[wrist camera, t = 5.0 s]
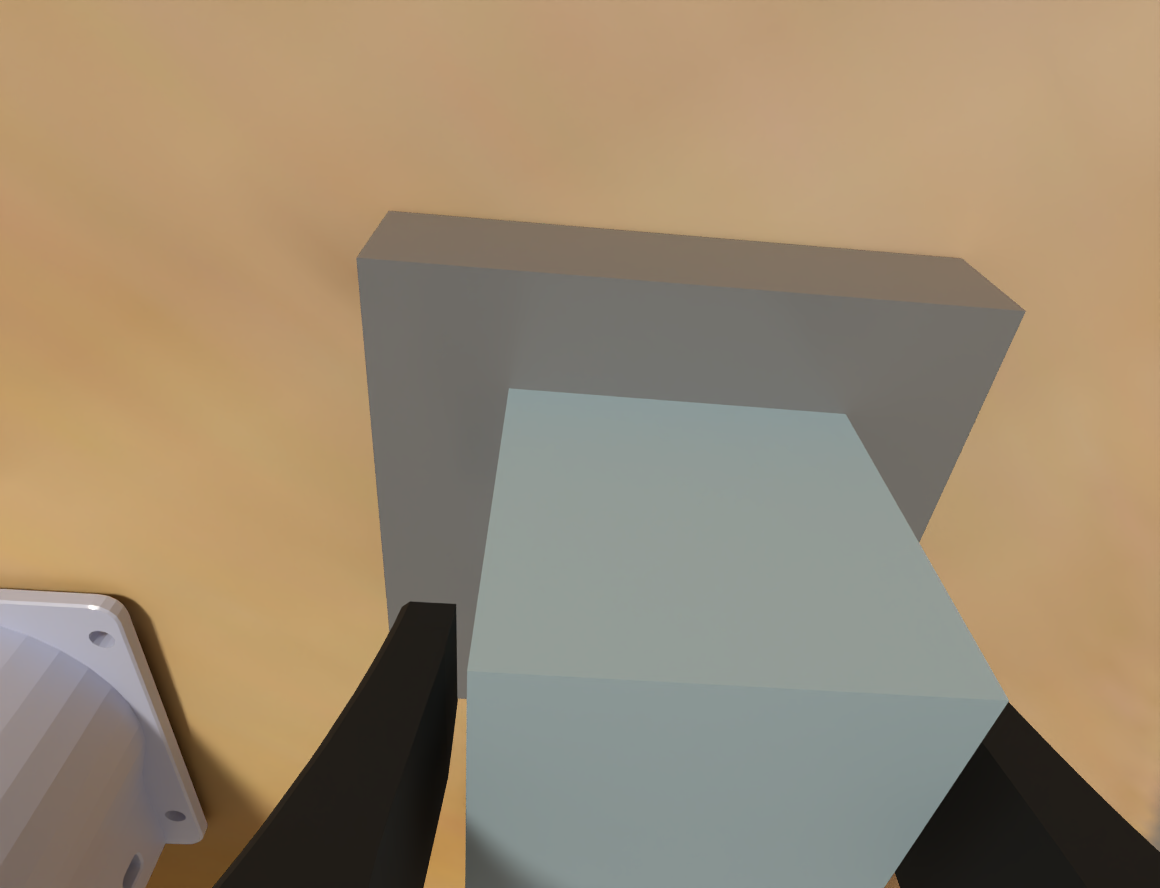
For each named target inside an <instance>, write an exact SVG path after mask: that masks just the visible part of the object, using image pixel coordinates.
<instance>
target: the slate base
mask: <svg viewBox="0 0 1160 888" xmlns="http://www.w3.org/2000/svg"><path fill="white" fill-rule="evenodd" d="M357 269H358V281H359V292H360V303H361V315H362V326H363V337H364V349H365V360H366V371H367V383H368V394H369V405H370V416H371V428H372V439H373V450H374V462H375V473H376V484H377V496H378V507H379V518H380V530H381V541H382V552H383V563H384V575H385V586H386V597H387V609H388V620H389V631H390V630H391V628H392V626H393V624H394V622H395V620H396V618H397V616H398V614H399V612H400V609H401V607H402V606H404V605H405V604H407V603H408V602H410V601H412V602H430V603H448V604H456V620H457V697H458V698H461V699H467V668H468V662H469V655H470V648H471V641H472V635H473V628H474V621H475V614H476V607H477V601H478V594H479V587H480V580H481V574H482V567H483V560H484V553H485V547H486V540H487V533H488V526H489V520H490V513H491V506H492V499H493V492H494V486H495V479H496V472H497V465H498V459H499V452H500V445H501V438H502V432H503V425H504V418H505V411H506V405H507V398H508V391H509V388H511V389H524V390H537V391H550V392H563V393H576V394H589V395H603V396H616V397H629V398H642V399H655V400H668V401H681V402H694V403H707V404H720V405H733V406H747V407H760V408H773V409H786V410H799V411H812V412H825V413H838V414H846V415H847V417H848V419H849V421H850V422H851V424H852V426H853V428H854V429H855V431H856V433H857V435H858V437H859V438H860V440H861V442H862V444H863V445H864V447H865V449H866V451H867V452H868V454H869V456H870V458H871V459H872V461H873V463H874V465H875V466H876V468H877V470H878V472H879V473H880V475H881V477H882V479H883V480H884V482H885V484H886V486H887V487H888V489H889V491H890V493H891V494H892V496H893V498H894V500H895V501H896V503H897V505H898V507H899V509H900V510H901V512H902V514H903V516H904V517H905V519H906V521H907V523H908V524H909V526H910V528H911V530H912V531H913V533H914V535H915V537H916V538H917V540H918V542H920V540H921V537H922V535H923V533H924V531H925V529H926V526H927V524H928V522H929V520H930V518H931V516H932V513H933V511H934V509H935V507H936V505H937V503H938V500H939V498H940V496H941V494H942V492H943V490H944V487H945V485H946V483H947V481H948V479H949V477H950V474H951V472H952V470H953V468H954V466H955V463H956V461H957V459H958V457H959V455H960V453H961V450H962V448H963V446H964V444H965V442H966V440H967V437H968V435H969V433H970V431H971V429H972V427H973V424H974V422H975V420H976V418H977V416H978V414H979V411H980V409H981V407H982V405H983V403H984V401H985V398H986V396H987V394H988V392H989V390H990V387H991V385H992V383H993V381H994V379H995V377H996V374H997V372H998V370H999V368H1000V366H1001V364H1002V361H1003V359H1004V357H1005V355H1006V353H1007V351H1008V348H1009V346H1010V344H1011V342H1012V340H1013V338H1014V335H1015V333H1016V331H1017V329H1018V327H1019V324H1020V322H1021V320H1022V318H1023V316H1024V314H1025V310H1024V309H1023V308H1021V307H1020V306H1019V305H1018V304H1016V303H1015V302H1014V301H1013V300H1012V299H1010V298H1009V297H1008V296H1007V295H1006V294H1004V293H1003V292H1002V291H1001V290H1000V289H998V288H997V287H996V286H995V285H993V284H992V283H991V282H990V281H989V280H987V279H986V278H985V277H984V276H983V275H981V274H980V273H979V272H978V271H977V270H975V269H974V268H973V267H972V266H970V265H969V264H968V263H967V262H966V261H964V260H963V259H961V258H949V257H937V256H925V255H913V254H901V253H889V252H877V251H865V250H853V249H841V248H829V247H817V246H805V245H793V244H781V243H769V242H757V241H745V240H733V239H721V238H709V237H697V236H685V235H673V234H660V233H648V232H636V231H624V230H612V229H600V228H588V227H576V226H564V225H552V224H540V223H528V222H516V221H504V220H492V219H480V218H468V217H456V216H444V215H432V214H420V213H408V212H396V211H388V213H387V214H386V216H385V217H384V218H383V220H382V221H381V223H380V224H379V226H378V227H377V229H376V230H375V232H374V233H373V234H372V236H371V237H370V239H369V240H368V242H367V243H366V245H365V246H364V248H363V249H362V250H361V252H360V253H359V255H358V256H357Z"/></svg>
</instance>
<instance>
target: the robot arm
mask: <svg viewBox="0 0 1160 888" xmlns="http://www.w3.org/2000/svg"><path fill="white" fill-rule="evenodd" d="M457 702H458V697H457V620H456V604H448V603H430V602H412V601H410V602H408V603H407V604H405V605H404V606H402V607H401V609H400V612H399V614H398V616H397V618H396V620H395V622H394V624H393V626H392V628H391V630H390V632H389V634H388V636H387V638H386V639H385V641H384V643H383V645H382V647H381V649H380V650H379V652H378V654H377V656H376V657H375V659H374V661H373V663H372V664H371V666H370V668H369V669H368V671H367V673H366V674H365V676H364V678H363V679H362V681H361V683H360V684H359V686H358V688H357V689H356V691H355V693H354V694H353V696H352V697H351V699H350V700H349V702H348V703H347V705H346V707H345V708H344V710H343V711H342V713H341V714H340V716H339V717H338V719H337V720H336V722H335V723H334V725H333V726H332V728H331V729H330V731H329V733H328V734H327V736H326V737H325V739H324V740H323V742H322V743H321V745H320V746H319V748H318V749H317V751H316V752H315V753H314V755H313V756H312V758H311V759H310V761H309V762H308V763H307V765H306V766H305V768H304V769H303V770H302V772H301V773H300V774H299V776H298V777H297V779H296V780H295V781H294V783H293V784H292V785H291V787H290V788H289V789H288V791H287V792H286V794H285V795H284V796H283V798H282V799H281V800H280V802H279V803H278V805H277V806H276V807H275V809H274V810H273V811H272V813H271V814H270V816H269V817H268V818H267V820H266V821H265V822H264V824H263V825H262V826H261V827H260V829H259V830H258V831H257V833H256V834H255V835H254V836H253V838H252V839H251V840H250V842H249V843H248V844H247V845H246V847H245V848H244V849H243V851H242V852H241V853H240V854H239V856H238V857H237V858H236V859H235V860H234V862H233V863H232V864H231V865H230V867H229V868H228V869H227V870H226V872H225V873H224V874H223V875H222V877H221V878H220V879H219V880H218V881H217V883H216V884H215V885H214V886H213V887H212V888H423V887H424V882H425V878H426V874H427V869H428V865H429V860H430V856H431V851H432V847H433V843H434V838H435V834H436V829H437V825H438V820H439V816H440V811H441V807H442V802H443V798H444V793H445V789H446V784H447V780H448V773H449V766H450V758H451V750H452V742H453V734H454V726H455V718H456V710H457ZM206 830H207V821H206V819H205V816H204V813H203V811H202V808H201V805H200V803H199V800H198V797H197V795H196V792H195V789H194V787H193V784H192V781H191V779H190V776H189V773H188V771H187V768H186V765H185V763H184V760H183V757H182V755H181V752H180V749H179V747H178V744H177V741H176V739H175V736H174V733H173V730H172V728H171V725H170V722H169V720H168V717H167V714H166V712H165V709H164V706H163V704H162V701H161V698H160V696H159V693H158V690H157V688H156V685H155V682H154V680H153V677H152V674H151V672H150V669H149V666H148V664H147V661H146V658H145V656H144V653H143V650H142V648H141V645H140V642H139V640H138V637H137V634H136V631H135V629H134V626H133V623H132V621H131V618H130V615H129V613H128V611H127V609H126V608H125V606H124V605H123V604H122V603H121V602H119V601H118V600H117V599H115V598H112V597H110V596H107V595H101V594H88V593H69V592H51V591H33V590H15V589H0V888H146V885H147V883H148V881H149V879H150V877H151V874H152V872H153V870H154V868H155V866H156V863H157V861H158V859H159V857H160V855H161V852H162V850H163V848H164V846H165V843H167V844H194V843H197V842H199V841H201V840H202V839H203V837H204V834H205V832H206ZM895 874H896V877H897V880H898V883H899V886H900V888H1160V852H1159V851H1158V850H1157V849H1156V848H1155V847H1154V846H1152V845H1151V844H1150V843H1149V842H1148V841H1147V840H1146V839H1145V838H1144V837H1143V836H1142V835H1141V834H1140V833H1139V832H1138V831H1136V830H1135V829H1134V828H1133V827H1132V826H1131V825H1130V824H1129V823H1128V822H1127V821H1126V820H1125V819H1124V818H1123V817H1122V816H1121V815H1120V814H1119V813H1117V812H1116V811H1115V810H1114V809H1113V808H1112V807H1111V806H1110V805H1109V804H1108V803H1107V802H1106V801H1105V800H1104V799H1103V798H1102V797H1101V796H1100V795H1099V794H1098V793H1097V792H1096V791H1095V790H1094V789H1093V788H1092V787H1091V786H1090V785H1089V784H1088V783H1087V782H1086V781H1085V780H1084V779H1083V778H1082V777H1081V776H1080V775H1079V774H1078V773H1077V772H1076V771H1075V770H1074V769H1073V768H1072V767H1071V766H1070V765H1069V764H1068V763H1067V762H1066V761H1065V760H1064V759H1063V758H1062V757H1061V756H1060V755H1059V754H1058V753H1057V752H1056V751H1055V750H1054V749H1053V748H1052V747H1051V746H1050V745H1049V744H1048V743H1047V742H1046V741H1045V740H1044V739H1043V738H1042V736H1041V735H1040V734H1039V733H1038V732H1037V731H1036V730H1035V729H1034V728H1033V727H1032V726H1031V725H1030V724H1029V723H1028V722H1027V721H1026V720H1025V719H1024V718H1023V717H1022V716H1021V715H1020V714H1019V713H1018V712H1017V710H1016V709H1015V708H1014V707H1013V706H1012V705H1011V704H1010V703H1009V702H1008V703H1007V705H1006V706H1005V708H1004V709H1003V711H1002V712H1001V714H1000V715H999V717H998V718H997V720H996V721H995V723H994V724H993V726H992V727H991V728H990V730H989V731H988V733H987V734H986V736H985V737H984V739H983V740H982V742H981V743H980V745H979V746H978V748H977V749H976V751H975V752H974V754H973V755H972V757H971V758H970V760H969V761H968V763H967V764H966V766H965V767H964V769H963V770H962V772H961V773H960V775H959V776H958V778H957V779H956V781H955V782H954V784H953V785H952V787H951V788H950V790H949V791H948V793H947V794H946V796H945V797H944V799H943V800H942V802H941V803H940V805H939V806H938V808H937V809H936V811H935V812H934V814H933V815H932V817H931V818H930V820H929V821H928V823H927V824H926V826H925V827H924V829H923V830H922V832H921V833H920V835H919V836H918V838H917V839H916V841H915V842H914V844H913V845H912V847H911V848H910V850H909V851H908V853H907V854H906V856H905V857H904V859H903V860H902V862H901V863H900V865H899V866H898V868H897V869H896V871H895Z"/></svg>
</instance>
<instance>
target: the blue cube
mask: <svg viewBox="0 0 1160 888" xmlns="http://www.w3.org/2000/svg"><path fill="white" fill-rule="evenodd" d="M1008 702H1009V700H1008V698H1007V696H1006V695H1005V693H1004V691H1003V689H1002V688H1001V686H1000V684H999V682H998V681H997V679H996V677H995V675H994V674H993V672H992V670H991V668H990V667H989V665H988V663H987V661H986V659H985V658H984V656H983V654H982V652H981V651H980V649H979V647H978V645H977V644H976V642H975V640H974V638H973V637H972V635H971V633H970V631H969V630H968V628H967V626H966V624H965V623H964V621H963V619H962V617H961V616H960V614H959V612H958V610H957V609H956V607H955V605H954V603H953V602H952V600H951V598H950V596H949V595H948V593H947V591H946V589H945V588H944V586H943V584H942V582H941V580H940V579H939V577H938V575H937V573H936V572H935V570H934V568H933V566H932V565H931V563H930V561H929V559H928V558H927V556H926V554H925V552H924V551H923V549H922V547H921V545H920V544H919V542H918V540H917V538H916V537H915V535H914V533H913V531H912V530H911V528H910V526H909V524H908V523H907V521H906V519H905V517H904V516H903V514H902V512H901V510H900V509H899V507H898V505H897V503H896V501H895V500H894V498H893V496H892V494H891V493H890V491H889V489H888V487H887V486H886V484H885V482H884V480H883V479H882V477H881V475H880V473H879V472H878V470H877V468H876V466H875V465H874V463H873V461H872V459H871V458H870V456H869V454H868V452H867V451H866V449H865V447H864V445H863V444H862V442H861V440H860V438H859V437H858V435H857V433H856V431H855V429H854V428H853V426H852V424H851V422H850V421H849V419H848V417H847V415H846V414H838V413H825V412H812V411H799V410H786V409H773V408H760V407H747V406H733V405H720V404H707V403H694V402H681V401H668V400H655V399H642V398H629V397H616V396H603V395H589V394H576V393H563V392H550V391H537V390H524V389H511V388H509V391H508V398H507V405H506V411H505V418H504V425H503V432H502V438H501V445H500V452H499V459H498V465H497V472H496V479H495V486H494V492H493V499H492V506H491V513H490V520H489V526H488V533H487V540H486V547H485V553H484V560H483V567H482V574H481V580H480V587H479V594H478V601H477V607H476V614H475V621H474V628H473V635H472V641H471V648H470V655H469V662H468V668H467V748H466V876H465V888H884V887H885V886H886V884H887V883H888V881H889V880H890V878H891V877H892V875H893V874H894V872H895V871H896V869H897V868H898V866H899V865H900V863H901V862H902V860H903V859H904V857H905V856H906V854H907V853H908V851H909V850H910V848H911V847H912V845H913V844H914V842H915V841H916V839H917V838H918V836H919V835H920V833H921V832H922V830H923V829H924V827H925V826H926V824H927V823H928V821H929V820H930V818H931V817H932V815H933V814H934V812H935V811H936V809H937V808H938V806H939V805H940V803H941V802H942V800H943V799H944V797H945V796H946V794H947V793H948V791H949V790H950V788H951V787H952V785H953V784H954V782H955V781H956V779H957V778H958V776H959V775H960V773H961V772H962V770H963V769H964V767H965V766H966V764H967V763H968V761H969V760H970V758H971V757H972V755H973V754H974V752H975V751H976V749H977V748H978V746H979V745H980V743H981V742H982V740H983V739H984V737H985V736H986V734H987V733H988V731H989V730H990V728H991V727H992V726H993V724H994V723H995V721H996V720H997V718H998V717H999V715H1000V714H1001V712H1002V711H1003V709H1004V708H1005V706H1006V705H1007V703H1008Z"/></svg>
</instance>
